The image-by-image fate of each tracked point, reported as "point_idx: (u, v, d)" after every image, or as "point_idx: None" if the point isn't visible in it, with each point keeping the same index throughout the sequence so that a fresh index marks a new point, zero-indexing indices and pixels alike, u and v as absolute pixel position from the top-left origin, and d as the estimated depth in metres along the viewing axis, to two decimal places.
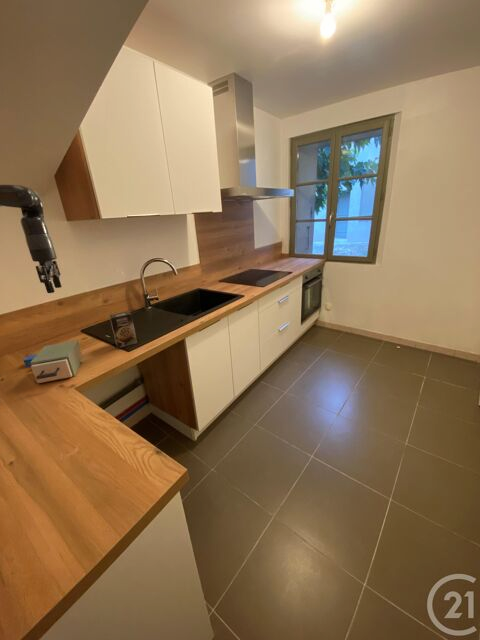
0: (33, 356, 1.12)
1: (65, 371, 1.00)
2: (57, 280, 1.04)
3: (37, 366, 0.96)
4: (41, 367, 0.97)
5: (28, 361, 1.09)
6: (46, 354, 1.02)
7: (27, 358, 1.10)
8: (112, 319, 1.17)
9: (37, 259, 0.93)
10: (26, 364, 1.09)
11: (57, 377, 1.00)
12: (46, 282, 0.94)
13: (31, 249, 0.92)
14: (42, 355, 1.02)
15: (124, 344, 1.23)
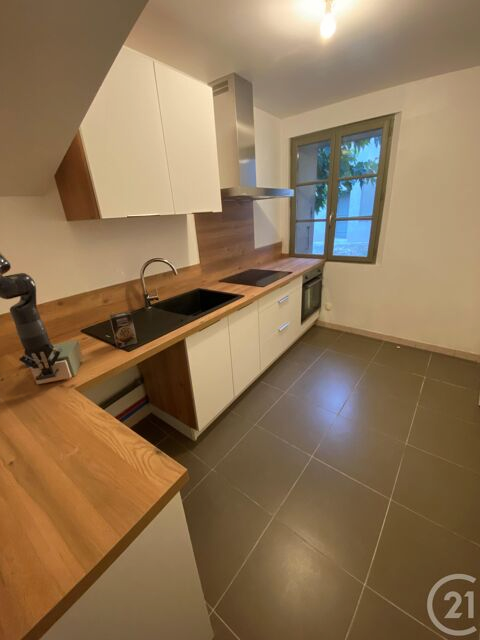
0: None
1: (64, 372, 0.99)
2: None
3: None
4: None
5: None
6: None
7: None
8: (112, 319, 1.17)
9: None
10: (26, 364, 1.09)
11: (56, 378, 0.99)
12: None
13: None
14: None
15: (124, 344, 1.23)
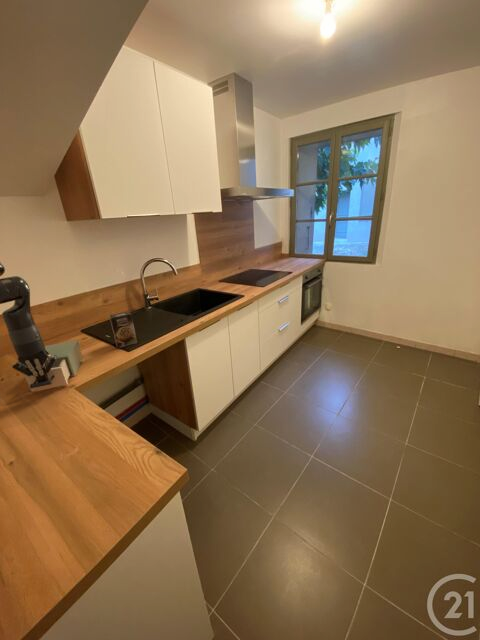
0: None
1: (60, 379, 0.95)
2: None
3: None
4: None
5: None
6: None
7: None
8: (112, 319, 1.17)
9: None
10: None
11: (52, 385, 0.95)
12: None
13: None
14: None
15: (124, 344, 1.23)
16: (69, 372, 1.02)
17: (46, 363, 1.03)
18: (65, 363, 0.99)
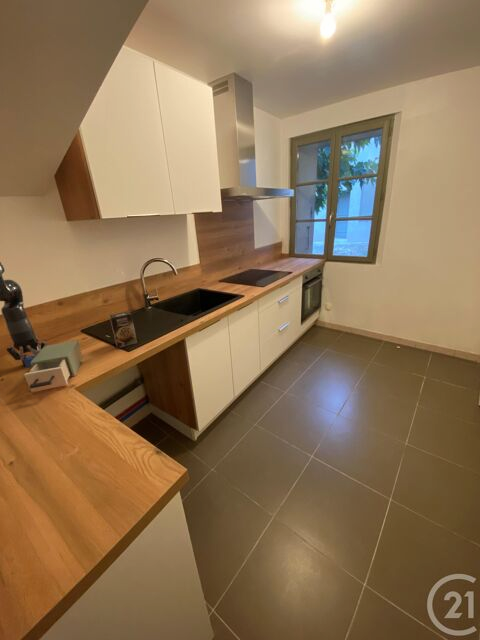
0: (33, 356, 1.12)
1: (60, 380, 0.95)
2: None
3: (31, 374, 0.91)
4: (35, 375, 0.92)
5: (28, 361, 1.09)
6: (46, 354, 1.02)
7: (27, 358, 1.10)
8: (112, 319, 1.17)
9: None
10: (26, 364, 1.09)
11: (52, 386, 0.95)
12: None
13: None
14: (42, 355, 1.02)
15: (124, 344, 1.23)
16: (69, 372, 1.02)
17: (46, 363, 1.03)
18: (65, 363, 0.99)
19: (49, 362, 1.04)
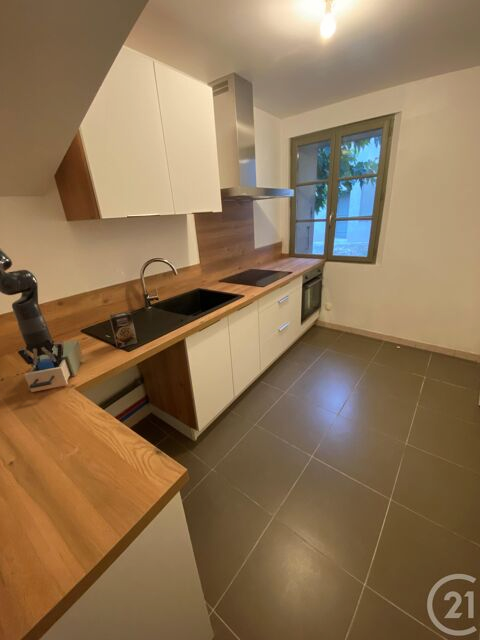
0: (48, 360, 0.96)
1: (60, 380, 0.95)
2: None
3: (31, 374, 0.91)
4: (35, 375, 0.92)
5: (43, 366, 0.94)
6: None
7: (41, 362, 0.95)
8: (112, 319, 1.17)
9: None
10: (40, 369, 0.94)
11: (52, 386, 0.95)
12: None
13: None
14: (42, 355, 1.02)
15: (124, 344, 1.23)
16: (69, 372, 1.02)
17: None
18: (65, 363, 0.99)
19: None
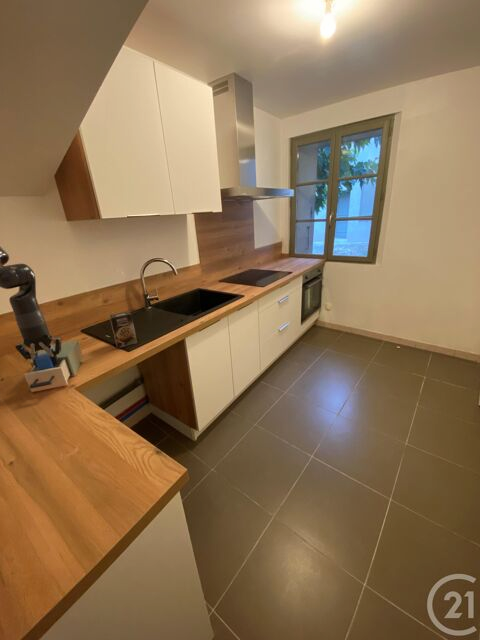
0: (46, 355, 0.95)
1: (60, 380, 0.95)
2: None
3: (31, 374, 0.91)
4: (35, 375, 0.92)
5: (40, 361, 0.93)
6: None
7: (39, 357, 0.94)
8: (112, 319, 1.17)
9: None
10: (38, 364, 0.93)
11: (52, 386, 0.95)
12: None
13: None
14: None
15: (124, 344, 1.23)
16: (69, 372, 1.02)
17: None
18: (65, 363, 0.99)
19: None
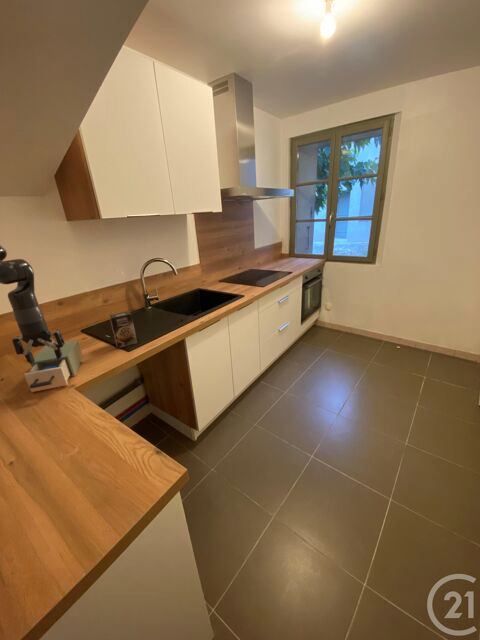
0: None
1: (60, 380, 0.95)
2: None
3: (30, 374, 0.91)
4: (35, 375, 0.92)
5: None
6: (46, 354, 1.02)
7: None
8: (112, 319, 1.17)
9: None
10: None
11: (52, 386, 0.95)
12: None
13: None
14: (42, 355, 1.02)
15: (124, 344, 1.23)
16: (69, 372, 1.02)
17: (46, 363, 1.03)
18: (65, 363, 0.99)
19: (49, 362, 1.04)
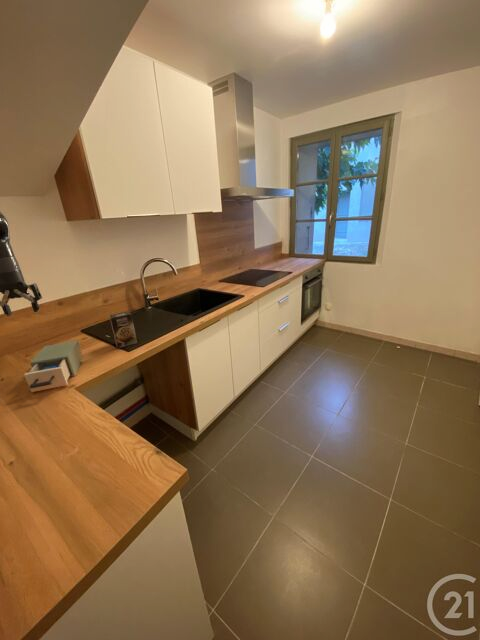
0: None
1: (60, 380, 0.95)
2: None
3: (30, 374, 0.91)
4: (35, 375, 0.92)
5: None
6: (46, 354, 1.02)
7: None
8: (112, 319, 1.17)
9: None
10: None
11: (52, 386, 0.95)
12: None
13: None
14: (42, 355, 1.02)
15: (124, 344, 1.23)
16: (69, 372, 1.02)
17: (46, 363, 1.03)
18: (65, 363, 0.99)
19: (49, 362, 1.04)
